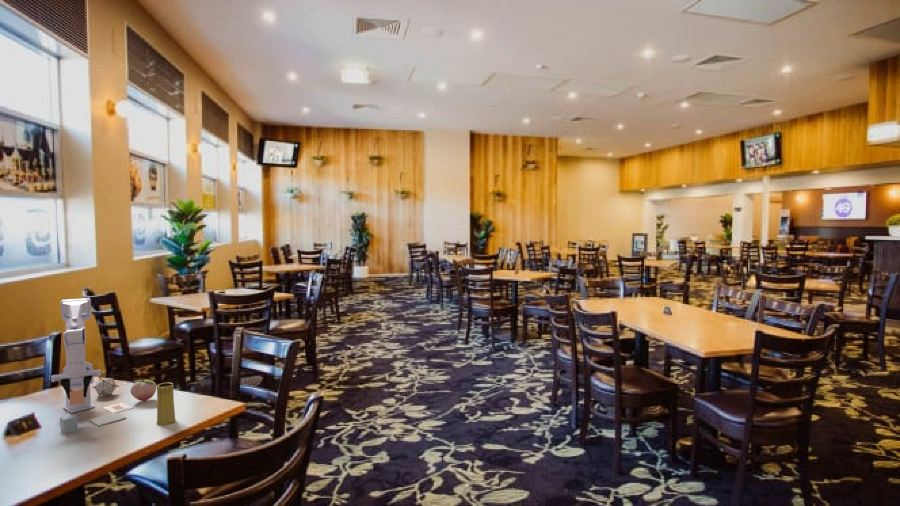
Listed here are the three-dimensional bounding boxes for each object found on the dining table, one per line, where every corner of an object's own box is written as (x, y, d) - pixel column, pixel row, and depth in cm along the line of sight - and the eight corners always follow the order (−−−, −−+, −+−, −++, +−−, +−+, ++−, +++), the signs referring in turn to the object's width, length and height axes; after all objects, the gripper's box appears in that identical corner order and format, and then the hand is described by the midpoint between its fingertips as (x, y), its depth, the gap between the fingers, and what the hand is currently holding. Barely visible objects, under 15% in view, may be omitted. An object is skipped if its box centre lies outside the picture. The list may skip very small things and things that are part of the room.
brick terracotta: (71, 402, 185) (70, 388, 185) (84, 400, 187) (84, 387, 187) (70, 405, 182) (69, 392, 182) (83, 403, 184) (83, 390, 184)
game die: (107, 405, 212) (101, 391, 206) (91, 397, 214) (85, 383, 208) (125, 389, 219) (120, 376, 213) (109, 381, 221) (104, 367, 214)
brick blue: (60, 431, 178) (60, 417, 178) (74, 427, 181) (73, 413, 181) (64, 433, 175) (64, 420, 175) (78, 430, 179) (77, 416, 178)
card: (102, 408, 200) (102, 407, 200) (122, 402, 205) (122, 402, 205) (112, 413, 194) (112, 413, 194) (132, 408, 199) (132, 407, 199)
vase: (179, 420, 188) (178, 383, 187) (165, 426, 182) (164, 388, 181) (167, 418, 190) (165, 381, 189) (152, 424, 184) (151, 386, 183)
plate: (89, 420, 187) (89, 419, 187) (116, 413, 194) (116, 412, 194) (98, 426, 182) (98, 425, 182) (126, 418, 189) (126, 417, 189)
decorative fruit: (161, 397, 212) (160, 374, 211) (150, 404, 203) (149, 380, 203) (139, 397, 212) (138, 374, 211) (127, 404, 203) (126, 380, 203)
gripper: (49, 366, 177) (50, 404, 178) (99, 361, 184) (100, 397, 185) (52, 362, 183) (54, 398, 184) (100, 356, 190) (101, 391, 191)
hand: (77, 397), depth 185 cm, fingers closed on brick terracotta, 4 cm apart
